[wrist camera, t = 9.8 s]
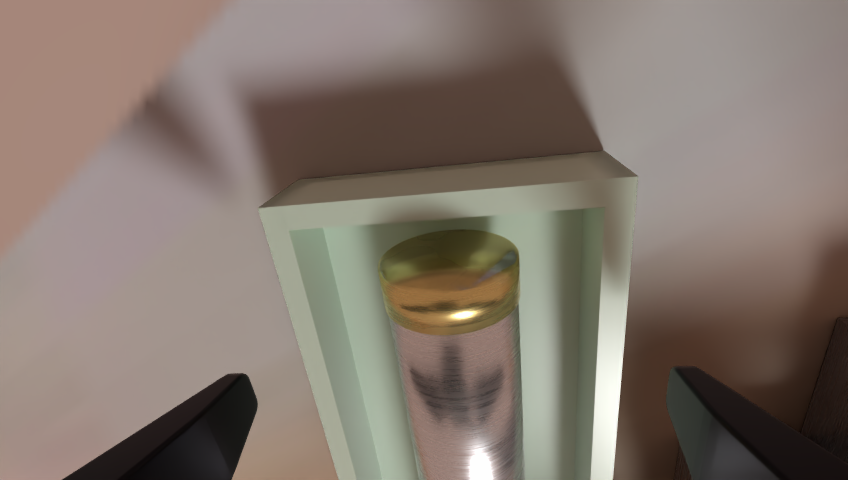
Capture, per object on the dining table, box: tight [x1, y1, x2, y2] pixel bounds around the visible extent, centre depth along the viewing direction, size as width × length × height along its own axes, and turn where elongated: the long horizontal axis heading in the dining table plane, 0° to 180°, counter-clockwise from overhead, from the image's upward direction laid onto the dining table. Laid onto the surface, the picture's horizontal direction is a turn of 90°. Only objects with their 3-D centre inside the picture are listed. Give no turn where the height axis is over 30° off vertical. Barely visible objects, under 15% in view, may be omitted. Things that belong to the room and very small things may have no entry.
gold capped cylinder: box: [378, 229, 525, 480], centre depth 12 cm, size 12×3×3 cm, turn 7°
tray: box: [258, 151, 638, 480], centre depth 13 cm, size 16×8×2 cm, turn 7°
